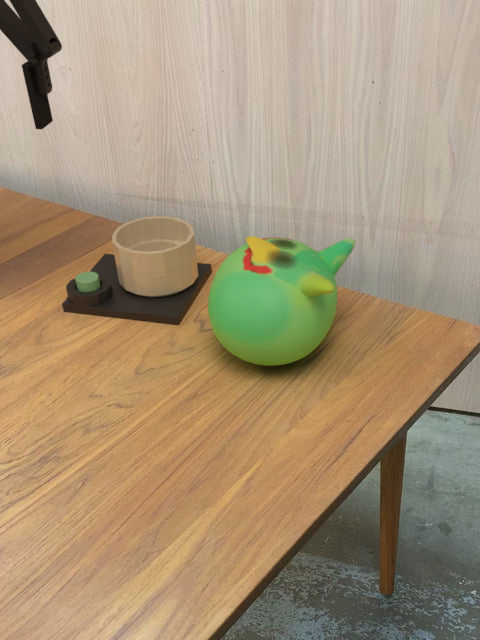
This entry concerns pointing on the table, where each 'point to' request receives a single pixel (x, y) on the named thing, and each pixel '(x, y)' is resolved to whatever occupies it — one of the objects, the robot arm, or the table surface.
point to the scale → (131, 297)
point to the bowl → (155, 255)
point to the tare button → (87, 281)
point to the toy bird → (275, 298)
